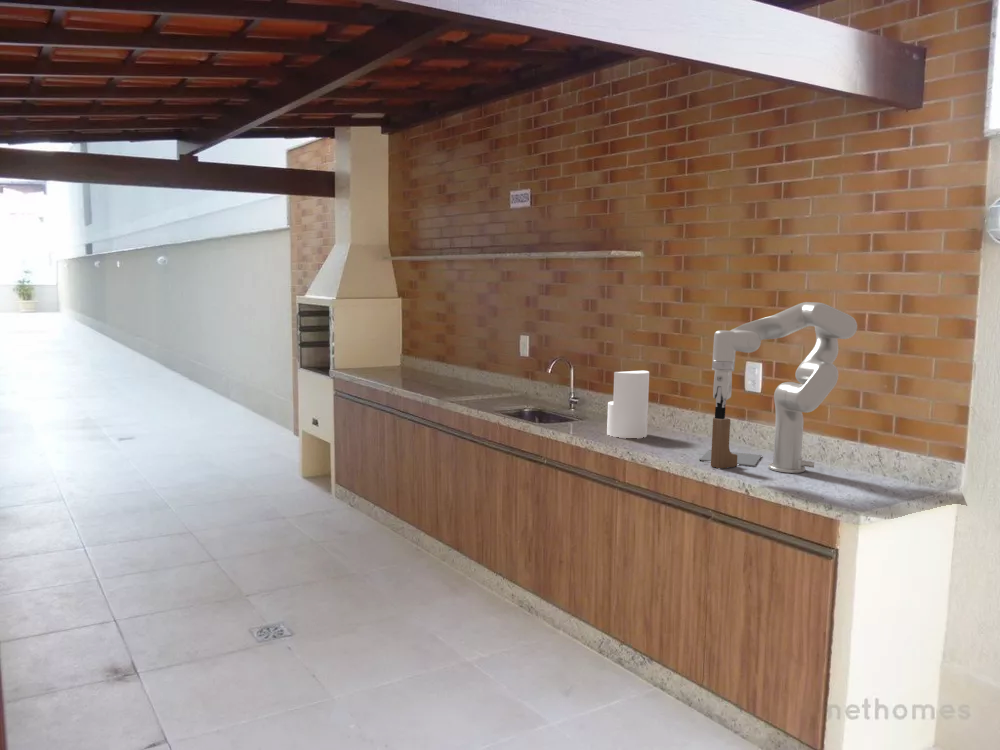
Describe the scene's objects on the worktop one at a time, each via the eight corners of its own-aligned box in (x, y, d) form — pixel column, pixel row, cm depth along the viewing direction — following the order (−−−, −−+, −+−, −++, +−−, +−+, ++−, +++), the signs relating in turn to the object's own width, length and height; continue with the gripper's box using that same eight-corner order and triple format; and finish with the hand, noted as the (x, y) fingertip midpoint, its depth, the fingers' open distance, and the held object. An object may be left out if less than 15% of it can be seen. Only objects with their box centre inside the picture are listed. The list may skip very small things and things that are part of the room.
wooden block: (728, 464, 302) (730, 416, 300) (737, 466, 298) (739, 418, 296) (710, 466, 298) (712, 417, 296) (719, 469, 294) (721, 419, 292)
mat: (761, 456, 317) (761, 455, 317) (754, 466, 299) (754, 465, 299) (709, 451, 326) (709, 449, 326) (699, 461, 307) (699, 459, 307)
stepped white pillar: (655, 436, 356) (657, 372, 353) (625, 440, 346) (628, 374, 343) (627, 430, 370) (629, 368, 367) (598, 433, 360) (600, 370, 357)
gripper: (730, 368, 275) (727, 422, 277) (737, 365, 289) (734, 416, 291) (708, 366, 279) (704, 420, 281) (716, 363, 292) (712, 414, 294)
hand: (719, 418), depth 286 cm, fingers closed
